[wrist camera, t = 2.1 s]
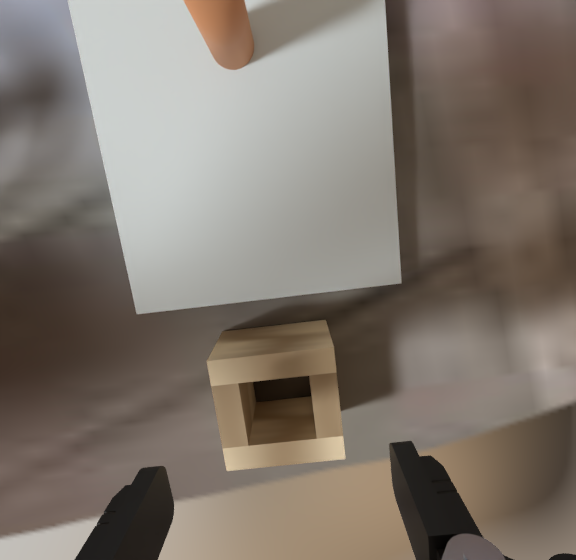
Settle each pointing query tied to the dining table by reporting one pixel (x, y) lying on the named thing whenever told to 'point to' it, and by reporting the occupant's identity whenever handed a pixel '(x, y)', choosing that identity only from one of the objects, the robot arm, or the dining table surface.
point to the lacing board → (244, 145)
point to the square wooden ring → (276, 413)
